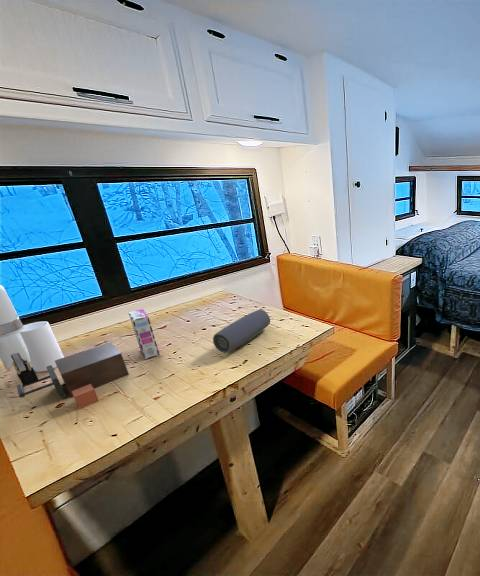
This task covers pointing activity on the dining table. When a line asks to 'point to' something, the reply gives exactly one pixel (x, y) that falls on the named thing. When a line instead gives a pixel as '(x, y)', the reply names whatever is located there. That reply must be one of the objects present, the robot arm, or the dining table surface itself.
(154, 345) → the candy bar box
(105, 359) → the cabinet
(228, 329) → the bluetooth speaker
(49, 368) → the drawer
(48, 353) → the cup
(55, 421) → the dining table surface
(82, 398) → the block
